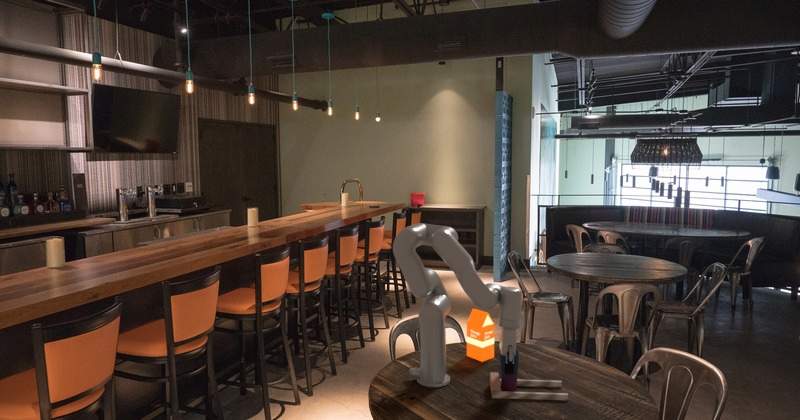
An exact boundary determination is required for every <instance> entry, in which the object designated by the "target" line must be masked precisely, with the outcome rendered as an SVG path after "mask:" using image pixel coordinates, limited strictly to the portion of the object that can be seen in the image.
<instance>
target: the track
mask: <svg viewBox="0 0 800 420" xmlns="http://www.w3.org/2000/svg"><path fill="white" fill-rule="evenodd" d="M489 372H490V373H489V388H490V393H491V399H512V400H513V399H514V400H515V399H516V400H543V401H544V400H547V401H569V394H568V393H567V392H537V391H536V392H533V391H516V392H509V391H502V381H501V378H500V375H499V372H498V371H497V372H495V371H494V372H493V371H492V372H491V371H489ZM517 387H535V388H536V387H538V388H541V387H542V388H562V387H563V381H562V380H552V379H549V380H548V379H545V380H544V379H519V378H517Z"/></svg>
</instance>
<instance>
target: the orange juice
mask: <svg viewBox="0 0 800 420" xmlns="http://www.w3.org/2000/svg"><path fill="white" fill-rule="evenodd" d="M466 356H467V357H469V358H471V359H473V360H474V359H475V360H477V361H479V362H481V363H483V362H486V361H488V360H490V359H493V358H495V323H494V321H493V320H492V318H491V316H490V314H489V312H486V311H485V310H481V309H480V310H479V309H476V308H472V310H471V312H470V314H469V316H468V319H467V321H466Z"/></svg>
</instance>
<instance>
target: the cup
mask: <svg viewBox="0 0 800 420" xmlns="http://www.w3.org/2000/svg"><path fill="white" fill-rule="evenodd" d="M507 354H509V353H507ZM508 358H509V357H507V359H508ZM499 359H500V360H499V361H500V376H501V378H500V379H501V381H502V386H501V391H509V392H517V389H518V388H517V387H518V386H517V379H518V371H519V360H520V350H519V349H517V348H516V355H515V356H514V374H505V373H504V368H505V362H506V358H505V355H504V356H502V355H501V351H500V350H499Z"/></svg>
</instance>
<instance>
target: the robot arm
mask: <svg viewBox="0 0 800 420" xmlns="http://www.w3.org/2000/svg"><path fill="white" fill-rule="evenodd" d="M420 246H430V247H432V249H433V250H434V251H435V253H436V254H437V255H439V257H440V258H441V259H442V261H444V262H445V264H446V265H447V266H448V268H450V270H452V272H453V273H454V275H455V277H456V279H457V281H458V283H459V285H460V287H461V288H462V290H463V292H464V293H465V294H466V295H467V296H468V298H469V299H470V300H471V301H472V302H473V303H474V305H476V307H478V308H479V309H480V310H481V311H490V310H493V309H494V308H495V307H496V305H499V308H498V310H499V312H498V326H499V327H500V332H499V333H500V335H499V336H500V337H499V352H500V351H501V355H502V356H504V355H505V358H506V362H505V368H504V373H505V374H514V356H515V355H516V349H517V340H518V338H517V337H518V335H517V333H518V330H519V329H520V328H521V321H522V320H521V319H522V318H521V317H522V315H521V314H522V301H523V300H522V299H523V292H522V290H521V289H520V288H518V287H515V286H505V285H504V286H503V285H501V284H496V283H491V282H490V283H486V284H485V283H484V281H483V280H482V279H481V278H480V276H479V274H478V272H477V270H476V267H475V263H474V259H473V257H472V255H471V254H470V253H468V251H467V250H466V249H465V248H464V246H462V244H461V243H460V242H459V235H458V232H457V231H456V230H455V229H454V228H453V227H450V226H448V225H439V224H438V225H437V224H431V223H425V222H422V223H421V222H418V223H414V224H411V225H408V226H406V227H404V228H402V229H401V230H400V231H399V232H397V234H396V236H395V237H394V241H393V244H392V252H393V255H394V257H395V261H396V262H397V264H398V267H399V269H400V271H401V273H402V275H403V277H404V280H405V282H406V283H407V286H408V289H409V291H410V293H411V294H412V295H413V296H414V297H415V298H416V299H417V298H418V299H424V301H423V303H422V304H421V306H420V308H419V310H418V321H419V322H418V324H419V331H420V332H419V333H420V338H419V339H420V367H418V368H409V371H408V373H409V375H411V376H412V377H416V381H417V382H416V383H418V384H420V385H421V386H423V387H426V388H441V387H444V386H447V385H449V383H450V382H451V376H450V375H449V374H447V340H446V339H447V335H446V334H447V333H446V326H445V325H446V324H445V319H446V317H447V316H448V315H449V313H450V312H451V310H452V302H451V299H450V297H449V294H448V292H447V290H446V287H445V286H444V284H443V282H442V279H441V278H440V276H439V274H438V273H437V272H436V271H435V269H432V268H430V267H425V266H424V263H423V260H422V258H421V257H420V255H419V254H418V253H417V251H416V249H418V247H420ZM507 353H509V354H507ZM507 357H509V358H508V359H507Z"/></svg>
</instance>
